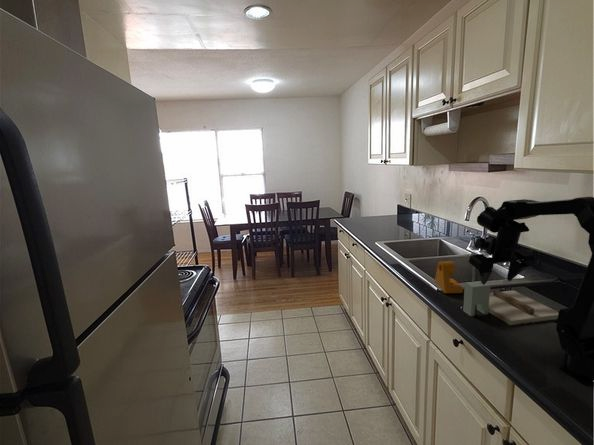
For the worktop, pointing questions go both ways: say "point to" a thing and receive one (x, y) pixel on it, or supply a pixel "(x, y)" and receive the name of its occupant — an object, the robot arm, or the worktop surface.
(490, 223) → the robot arm
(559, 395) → the worktop surface
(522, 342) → the worktop surface
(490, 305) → the cleat board
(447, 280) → the bracket
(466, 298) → the grey-green notched block
